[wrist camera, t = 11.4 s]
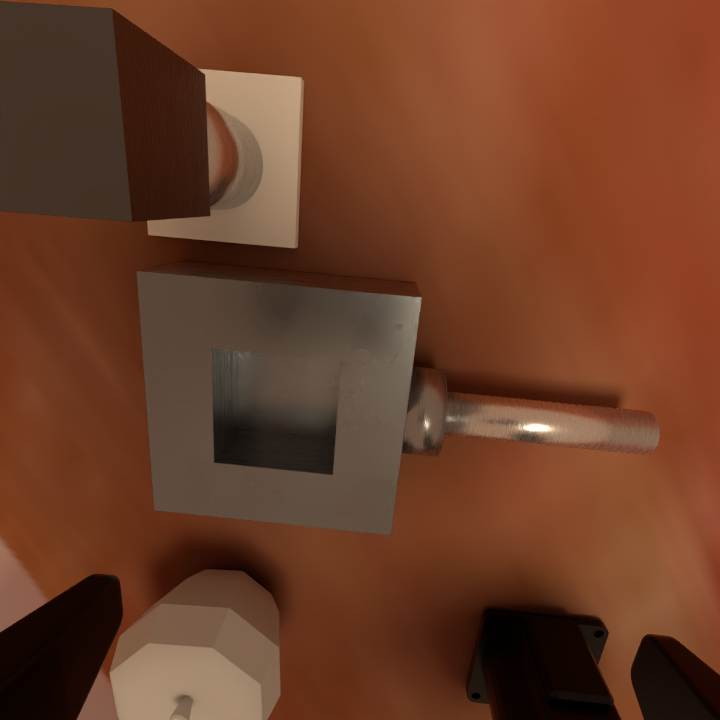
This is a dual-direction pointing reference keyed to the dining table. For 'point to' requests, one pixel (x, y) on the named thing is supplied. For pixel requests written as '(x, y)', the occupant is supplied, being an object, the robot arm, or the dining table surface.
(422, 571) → the dining table surface
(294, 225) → the pad
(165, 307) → the block
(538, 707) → the robot arm
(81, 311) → the dining table surface
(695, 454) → the dining table surface
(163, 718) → the apple
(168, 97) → the dark square post
